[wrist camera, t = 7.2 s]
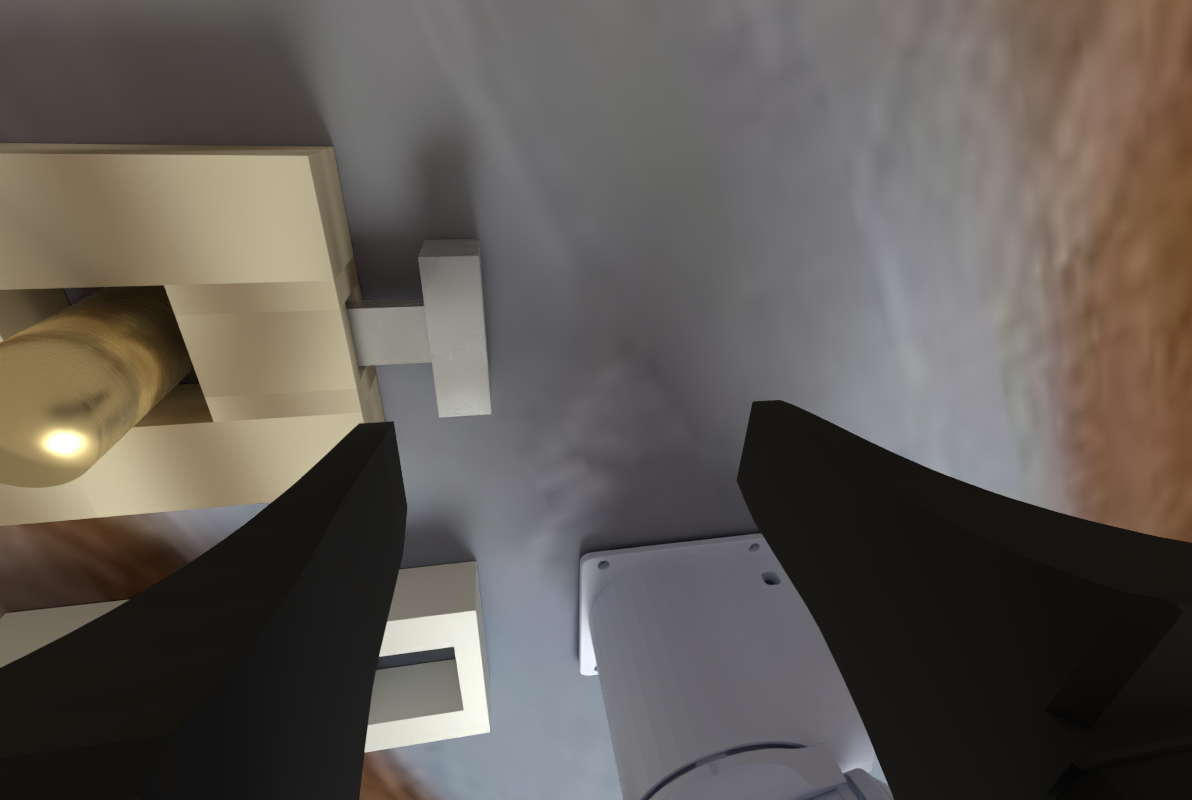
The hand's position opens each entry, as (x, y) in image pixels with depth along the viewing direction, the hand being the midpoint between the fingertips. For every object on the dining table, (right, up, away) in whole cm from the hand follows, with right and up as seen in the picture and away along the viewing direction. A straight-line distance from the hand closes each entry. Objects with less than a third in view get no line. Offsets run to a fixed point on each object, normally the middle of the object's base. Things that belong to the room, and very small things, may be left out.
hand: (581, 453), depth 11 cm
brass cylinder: (-13, +3, +6) cm, 15 cm away
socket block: (-13, +3, +6) cm, 14 cm away
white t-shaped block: (-7, +4, +6) cm, 10 cm away
